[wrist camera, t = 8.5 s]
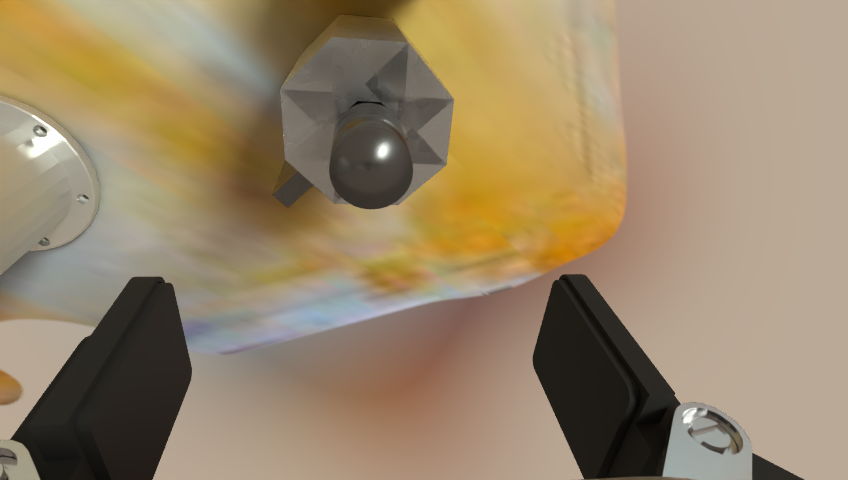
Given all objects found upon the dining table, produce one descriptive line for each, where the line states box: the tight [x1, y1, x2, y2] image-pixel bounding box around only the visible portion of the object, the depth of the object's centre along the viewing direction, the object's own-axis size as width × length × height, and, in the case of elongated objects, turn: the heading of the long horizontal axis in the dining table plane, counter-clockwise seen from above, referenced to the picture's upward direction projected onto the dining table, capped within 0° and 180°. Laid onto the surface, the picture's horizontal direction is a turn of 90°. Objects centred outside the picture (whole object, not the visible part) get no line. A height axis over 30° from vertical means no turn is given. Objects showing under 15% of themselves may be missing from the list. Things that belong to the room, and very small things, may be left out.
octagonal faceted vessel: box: [273, 14, 454, 207], centre depth 30 cm, size 12×9×12 cm
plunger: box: [329, 101, 413, 209], centre depth 27 cm, size 4×4×17 cm
